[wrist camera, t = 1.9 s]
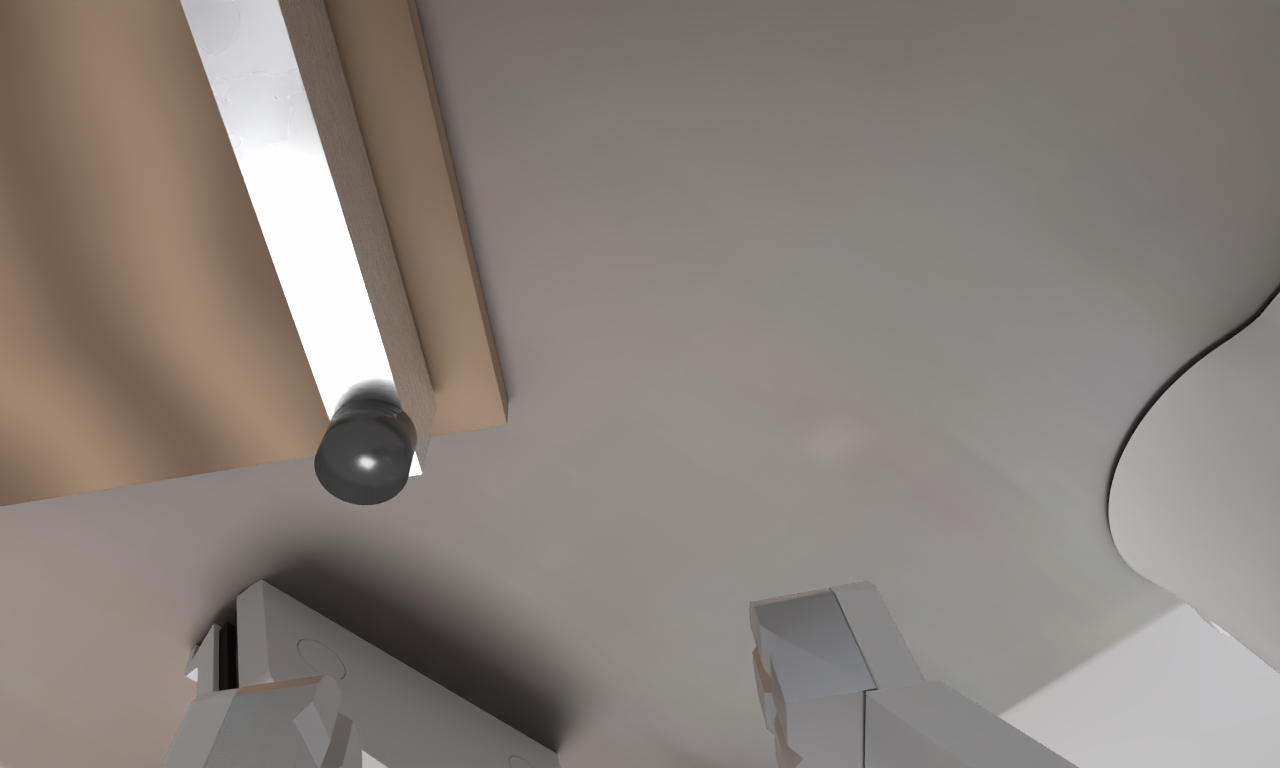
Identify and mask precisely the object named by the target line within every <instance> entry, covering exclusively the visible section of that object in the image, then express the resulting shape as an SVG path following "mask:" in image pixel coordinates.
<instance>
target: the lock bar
mask: <svg viewBox="0 0 1280 768" xmlns="http://www.w3.org/2000/svg"><path fill="white" fill-rule="evenodd" d="M180 1H181V4H182V7H183V10H184V13H185V15H186V18H187V21H188V24H189V27H190V29H191V32H192V35H193V38H194V41H195V43H196V46H197V49H198V52H199V55H200V57H201V60H202V63H203V66H204V69H205V72H206V74H207V77H208V80H209V83H210V86H211V88H212V91H213V94H214V97H215V100H216V102H217V105H218V108H219V111H220V114H221V116H222V119H223V122H224V125H225V128H226V130H227V133H228V136H229V139H230V142H231V145H232V147H233V150H234V153H235V156H236V159H237V161H238V164H239V167H240V170H241V173H242V175H243V178H244V181H245V184H246V187H247V189H248V192H249V195H250V198H251V201H252V203H253V206H254V209H255V212H256V215H257V217H258V220H259V223H260V226H261V229H262V232H263V234H264V237H265V240H266V243H267V246H268V248H269V251H270V254H271V257H272V260H273V262H274V265H275V268H276V271H277V274H278V276H279V279H280V282H281V285H282V288H283V290H284V293H285V296H286V299H287V302H288V305H289V307H290V310H291V313H292V316H293V319H294V321H295V324H296V327H297V330H298V333H299V335H300V338H301V341H302V344H303V347H304V349H305V352H306V355H307V358H308V361H309V363H310V366H311V369H312V372H313V375H314V377H315V380H316V383H317V386H318V389H319V392H320V394H321V397H322V400H323V403H324V406H325V408H326V411H327V414H328V417H329V420H330V423H329V426H328V428H327V430H326V432H325V435H324V437H323V439H322V441H321V443H320V446H319V448H318V450H317V453H316V456H315V463H314V466H315V472H316V475H317V477H318V479H319V481H320V483H321V484H322V485H323V487H324V488H325V489H326V490H327V491H328V492H329V493H331V494H332V495H334V496H335V497H337V498H339V499H341V500H343V501H345V502H349V503H352V504H358V505H373V504H379V503H382V502H385V501H387V500H390V499H391V498H393V497H395V496H396V495H397V494H398V493H399V492H400V491H401V490H402V489H403V488H404V486H405V484H406V482H407V480H408V476H414V475H420V474H422V472H423V468H424V463H425V459H426V454H427V450H428V446H429V441H430V437H431V432H432V428H433V424H434V419H435V415H436V410H437V403H436V400H435V396H434V393H433V389H432V386H431V382H430V378H429V375H428V371H427V368H426V364H425V361H424V357H423V353H422V350H421V346H420V343H419V339H418V336H417V332H416V329H415V325H414V321H413V318H412V314H411V311H410V307H409V304H408V300H407V296H406V293H405V289H404V286H403V282H402V279H401V275H400V271H399V268H398V264H397V261H396V257H395V254H394V250H393V246H392V243H391V239H390V236H389V232H388V229H387V225H386V221H385V218H384V214H383V211H382V207H381V204H380V200H379V197H378V193H377V189H376V186H375V182H374V179H373V175H372V172H371V168H370V164H369V161H368V157H367V154H366V150H365V147H364V143H363V139H362V136H361V132H360V129H359V125H358V122H357V118H356V114H355V111H354V107H353V104H352V100H351V97H350V93H349V89H348V86H347V82H346V79H345V75H344V72H343V68H342V65H341V61H340V57H339V54H338V50H337V47H336V43H335V40H334V36H333V32H332V29H331V25H330V22H329V18H328V15H327V11H326V7H325V4H324V0H180Z"/></svg>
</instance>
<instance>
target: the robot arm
mask: <svg viewBox="0 0 1280 768" xmlns="http://www.w3.org/2000/svg"><path fill="white" fill-rule="evenodd" d="M1109 523H1110V530H1111V534H1112V537H1113V540H1114V543H1115V545H1116V547H1117V549H1118V551H1119V553H1120V554H1121V556H1122V557H1123V559H1124V560H1125V561H1126V563H1127V564H1128V565H1129V566H1130V567H1131V568H1132V569H1133V570H1134V571H1136V572H1137V573H1138V574H1140V575H1141V576H1143V577H1144V578H1146V579H1148V580H1149V581H1151V582H1153V583H1154V584H1156V585H1158V586H1160V587H1161V588H1163V589H1165V590H1166V591H1168V592H1170V593H1171V594H1173V595H1174V596H1176V597H1178V598H1179V599H1181V600H1182V601H1184V602H1185V603H1187V604H1188V605H1190V606H1191V607H1192V608H1194V609H1195V610H1196V612H1197V613H1198V614H1199V615H1200V617H1201V618H1203V619H1204V620H1205V621H1206V622H1207V623H1208V624H1210V625H1211V626H1212V627H1213V628H1214V629H1216V630H1217V631H1218V632H1219V633H1221V634H1223V635H1225V636H1230V637H1234V638H1235V639H1236V640H1237V641H1239V642H1240V643H1241V644H1242V645H1244V646H1245V647H1246V648H1248V649H1249V650H1250V651H1251V652H1252V653H1254V654H1255V655H1256V656H1258V657H1259V658H1260V659H1261V660H1263V661H1264V662H1265V663H1266V664H1268V665H1269V666H1270V667H1271V668H1273V669H1274V670H1275V671H1276V672H1278V673H1279V674H1280V292H1279V294H1278V295H1277V296H1276V297H1275V298H1274V299H1273V301H1272V302H1271V303H1270V304H1269V305H1268V307H1267V308H1266V309H1265V310H1264V312H1263V313H1262V314H1261V315H1260V316H1259V317H1258V318H1257V319H1256V320H1255V321H1254V322H1252V323H1251V324H1250V325H1249V326H1247V327H1246V328H1245V329H1243V330H1242V331H1241V332H1240V333H1238V334H1237V335H1235V336H1234V337H1232V338H1231V339H1229V340H1228V341H1226V342H1225V343H1224V344H1222V345H1221V346H1219V347H1218V348H1216V349H1215V350H1213V351H1212V352H1211V353H1209V354H1208V355H1206V356H1205V357H1204V358H1203V359H1201V360H1200V361H1199V362H1197V363H1196V364H1195V365H1194V366H1192V367H1191V368H1190V369H1189V370H1188V371H1186V372H1185V373H1184V374H1183V375H1182V376H1181V377H1180V378H1179V379H1178V380H1177V381H1176V382H1175V383H1174V384H1173V385H1172V386H1171V387H1170V388H1169V389H1168V390H1167V391H1166V392H1165V393H1164V394H1163V395H1162V396H1161V397H1160V398H1159V400H1158V401H1157V402H1156V403H1155V404H1154V405H1153V407H1152V408H1151V409H1150V410H1149V412H1148V413H1147V414H1146V416H1145V417H1144V418H1143V420H1142V421H1141V423H1140V424H1139V426H1138V427H1137V429H1136V430H1135V432H1134V433H1133V435H1132V437H1131V438H1130V440H1129V442H1128V444H1127V446H1126V448H1125V450H1124V452H1123V454H1122V456H1121V458H1120V461H1119V463H1118V466H1117V469H1116V472H1115V475H1114V478H1113V482H1112V486H1111V491H1110V498H1109ZM749 612H750V626H751V629H752V633H753V636H754V639H755V643H756V648H755V649H754V651H753V652H752V653H753V662H754V671H755V678H756V684H757V690H758V696H759V700H760V704H761V708H762V712H763V715H764V719H765V723H766V726H767V729H768V730H769V731H770V732H771V733H773V734H774V735H775V745H776V758H777V764H778V767H779V768H1079V767H1077V766H1075V765H1074V764H1072V763H1071V762H1069V761H1067V760H1066V759H1064V758H1063V757H1061V756H1060V755H1058V754H1056V753H1055V752H1053V751H1052V750H1050V749H1048V748H1047V747H1045V746H1044V745H1042V744H1040V743H1039V742H1037V741H1036V740H1034V739H1032V738H1031V737H1029V736H1028V735H1026V734H1024V733H1023V732H1021V731H1020V730H1018V729H1016V728H1015V727H1013V726H1011V725H1010V724H1009V723H1007V722H1005V721H1004V720H1002V719H1001V718H999V717H997V716H996V715H994V714H993V713H991V712H989V711H988V710H986V709H985V708H983V707H981V706H980V705H978V704H977V703H975V702H974V701H972V700H970V699H969V698H967V697H966V696H964V695H962V694H961V693H959V692H958V691H956V690H954V689H953V688H951V687H950V686H948V685H946V684H945V683H943V682H942V681H940V680H933V681H926V680H925V678H924V676H923V675H922V673H921V671H920V669H919V667H918V665H917V663H916V661H915V660H914V658H913V656H912V654H911V652H910V650H909V648H908V647H907V645H906V643H905V641H904V639H903V637H902V635H901V633H900V632H899V630H898V628H897V626H896V624H895V622H894V620H893V618H892V617H891V615H890V613H889V611H888V609H887V607H886V605H885V604H884V602H883V600H882V598H881V596H880V594H879V592H878V590H877V589H876V587H875V585H874V584H872V583H871V582H870V581H863V582H857V583H852V584H846V585H841V586H835V587H830V588H829V589H826V588H825V589H820V590H814V591H809V592H803V593H797V594H792V595H786V596H781V597H775V598H770V599H764V600H758V601H753V602H750V609H749ZM341 698H342V694H341V692H340V690H339V687H338V685H337V683H336V681H335V679H334V677H333V676H329V675H320V676H313V677H306V678H299V679H292V680H285V681H278V682H271V683H264V684H257V685H251V686H244V687H243V688H236V689H229V690H222V691H215V692H208V693H202V694H201V695H200V696H199V697H198V698H196V699H195V700H194V701H193V702H192V703H191V705H190V706H189V709H188V711H187V713H186V715H185V717H184V719H183V721H182V724H181V726H180V728H179V730H178V732H177V734H176V736H175V738H174V741H173V743H172V745H171V747H170V749H169V751H168V753H167V755H166V758H165V760H164V762H163V764H162V766H161V768H362V749H361V744H360V739H359V734H358V732H357V729H356V727H355V724H354V722H353V720H351V719H349V718H348V717H346V716H344V715H343V714H341V713H339V712H338V710H339V706H340V702H341Z"/></svg>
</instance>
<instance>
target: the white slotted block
mask: <svg viewBox="0 0 1280 768" xmlns="http://www.w3.org/2000/svg"><path fill="white" fill-rule="evenodd" d="M320 675H329V676H333V677H334V679H335V681H336V683H337V685H338V687H339V690H340V692H341V694H342V698H341V702H340V706H339V710H338V712H339V713H341V714H343V715H344V716H346V717H348V718H349V719H351V720H353V722H354V724H355V727H356V729H357V732H358V734H359V739H360V744H361V749H362V768H561V767H560V763H559V759H558V756H557V754H556V753H555V752H553V751H551V750H550V749H548V748H546V747H545V746H543V745H541V744H539V743H538V742H536V741H534V740H533V739H531V738H529V737H528V736H526V735H524V734H523V733H521V732H519V731H517V730H516V729H514V728H512V727H511V726H509V725H507V724H506V723H504V722H502V721H501V720H499V719H497V718H495V717H494V716H492V715H490V714H489V713H487V712H485V711H484V710H482V709H480V708H479V707H477V706H475V705H473V704H472V703H470V702H468V701H467V700H465V699H463V698H462V697H460V696H458V695H457V694H455V693H453V692H451V691H450V690H448V689H446V688H445V687H443V686H441V685H440V684H438V683H436V682H435V681H433V680H431V679H429V678H428V677H426V676H424V675H423V674H421V673H419V672H418V671H416V670H414V669H413V668H411V667H409V666H407V665H406V664H404V663H402V662H401V661H399V660H397V659H396V658H394V657H392V656H391V655H389V654H387V653H385V652H384V651H382V650H380V649H379V648H377V647H375V646H374V645H372V644H370V643H369V642H367V641H365V640H363V639H362V638H360V637H358V636H357V635H355V634H353V633H352V632H350V631H348V630H346V629H345V628H343V627H341V626H340V625H338V624H336V623H335V622H333V621H331V620H330V619H328V618H326V617H324V616H323V615H321V614H319V613H318V612H316V611H314V610H313V609H311V608H309V607H308V606H306V605H304V604H302V603H301V602H299V601H297V600H296V599H294V598H292V597H291V596H289V595H287V594H286V593H284V592H282V591H280V590H279V589H277V588H275V587H274V586H272V585H270V584H269V583H267V582H265V581H264V580H260V581H258V582H256V583H254V584H253V585H251V586H250V587H249V588H248V589H246V590H245V591H244V592H242V593H241V594H240V595H238V596H237V611H236V612H235V626H234V625H232V624H230V623H228V622H227V623H226V624H225V625H224V626H223V627H220V626H218V625H217V624H215V623H214V624H213V626H212V627H211V629H210V631H209V632H208V634H207V636H206V637H205V639H204V641H203V642H202V644H201V646H199V645H197V644H196V645H195V646H194V648H193V649H192V651H191V653H190V656H189V659H188V663H187V666H186V669H185V676H186V677H188V678H190V679H192V680H194V681H196V682H197V698H198V697H199V696H200V695H201V694H202V693H208V692H215V691H222V690H229V689H236V688H243V687H244V686H251V685H257V684H264V683H271V682H278V681H285V680H292V679H299V678H306V677H313V676H320Z"/></svg>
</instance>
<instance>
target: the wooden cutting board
mask: <svg viewBox="0 0 1280 768" xmlns="http://www.w3.org/2000/svg"><path fill="white" fill-rule="evenodd" d="M324 4H325V7H326V11H327V15H328V18H329V22H330V25H331V29H332V32H333V36H334V40H335V43H336V47H337V50H338V54H339V57H340V61H341V65H342V68H343V72H344V75H345V79H346V82H347V86H348V89H349V93H350V97H351V100H352V104H353V107H354V111H355V114H356V118H357V122H358V125H359V129H360V132H361V136H362V139H363V143H364V147H365V150H366V154H367V157H368V161H369V164H370V168H371V172H372V175H373V179H374V182H375V186H376V189H377V193H378V197H379V200H380V204H381V207H382V211H383V214H384V218H385V221H386V225H387V229H388V232H389V236H390V239H391V243H392V246H393V250H394V254H395V257H396V261H397V264H398V268H399V271H400V275H401V279H402V282H403V286H404V289H405V293H406V296H407V300H408V304H409V307H410V311H411V314H412V318H413V321H414V325H415V329H416V332H417V336H418V339H419V343H420V346H421V350H422V353H423V357H424V361H425V364H426V368H427V371H428V375H429V378H430V382H431V386H432V389H433V393H434V396H435V400H436V403H437V410H436V415H435V419H434V424H433V428H432V432H431V437H432V436H438V435H444V434H451V433H457V432H463V431H469V430H475V429H482V428H488V427H494V426H500V425H506V424H507V417H508V399H507V395H506V391H505V386H504V382H503V378H502V374H501V369H500V365H499V361H498V356H497V352H496V348H495V343H494V339H493V335H492V330H491V326H490V322H489V317H488V313H487V309H486V305H485V300H484V296H483V292H482V287H481V283H480V279H479V274H478V270H477V266H476V261H475V257H474V253H473V248H472V244H471V240H470V236H469V231H468V227H467V223H466V218H465V214H464V210H463V205H462V201H461V197H460V192H459V188H458V184H457V179H456V175H455V171H454V167H453V162H452V158H451V154H450V149H449V145H448V141H447V136H446V132H445V128H444V123H443V119H442V115H441V110H440V106H439V102H438V98H437V93H436V89H435V85H434V80H433V76H432V72H431V67H430V63H429V59H428V54H427V50H426V46H425V41H424V37H423V33H422V29H421V24H420V20H419V16H418V11H417V7H416V3H415V0H324ZM329 423H330V420H329V417H328V414H327V411H326V408H325V406H324V403H323V400H322V397H321V394H320V392H319V389H318V386H317V383H316V380H315V377H314V375H313V372H312V369H311V366H310V363H309V361H308V358H307V355H306V352H305V349H304V347H303V344H302V341H301V338H300V335H299V333H298V330H297V327H296V324H295V321H294V319H293V316H292V313H291V310H290V307H289V305H288V302H287V299H286V296H285V293H284V290H283V288H282V285H281V282H280V279H279V276H278V274H277V271H276V268H275V265H274V262H273V260H272V257H271V254H270V251H269V248H268V246H267V243H266V240H265V237H264V234H263V232H262V229H261V226H260V223H259V220H258V217H257V215H256V212H255V209H254V206H253V203H252V201H251V198H250V195H249V192H248V189H247V187H246V184H245V181H244V178H243V175H242V173H241V170H240V167H239V164H238V161H237V159H236V156H235V153H234V150H233V147H232V145H231V142H230V139H229V136H228V133H227V130H226V128H225V125H224V122H223V119H222V116H221V114H220V111H219V108H218V105H217V102H216V100H215V97H214V94H213V91H212V88H211V86H210V83H209V80H208V77H207V74H206V72H205V69H204V66H203V63H202V60H201V57H200V55H199V52H198V49H197V46H196V43H195V41H194V38H193V35H192V32H191V29H190V27H189V24H188V21H187V18H186V15H185V13H184V10H183V7H182V4H181V1H180V0H0V506H5V505H12V504H18V503H24V502H30V501H36V500H42V499H49V498H55V497H61V496H67V495H73V494H80V493H86V492H92V491H98V490H104V489H110V488H117V487H123V486H129V485H135V484H141V483H148V482H154V481H160V480H166V479H172V478H179V477H185V476H191V475H197V474H203V473H209V472H216V471H222V470H228V469H234V468H240V467H247V466H253V465H259V464H265V463H271V462H277V461H284V460H290V459H296V458H302V457H308V456H315V455H316V453H317V450H318V448H319V446H320V443H321V441H322V439H323V437H324V435H325V432H326V430H327V428H328V426H329Z"/></svg>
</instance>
